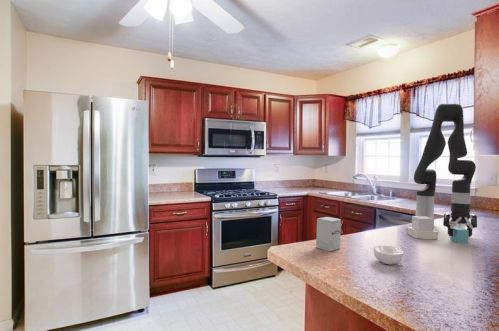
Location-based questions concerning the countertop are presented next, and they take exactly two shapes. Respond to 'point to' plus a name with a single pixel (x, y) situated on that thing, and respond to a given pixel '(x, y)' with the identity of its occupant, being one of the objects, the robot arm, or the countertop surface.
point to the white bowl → (388, 254)
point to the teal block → (460, 235)
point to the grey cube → (422, 223)
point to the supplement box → (328, 233)
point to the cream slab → (422, 233)
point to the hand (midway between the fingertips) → (459, 236)
